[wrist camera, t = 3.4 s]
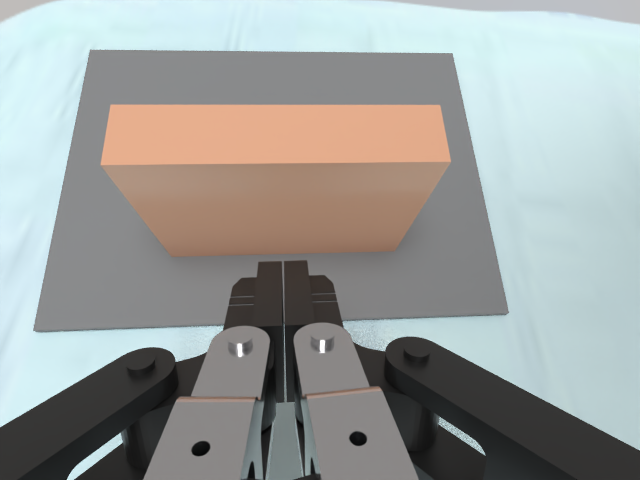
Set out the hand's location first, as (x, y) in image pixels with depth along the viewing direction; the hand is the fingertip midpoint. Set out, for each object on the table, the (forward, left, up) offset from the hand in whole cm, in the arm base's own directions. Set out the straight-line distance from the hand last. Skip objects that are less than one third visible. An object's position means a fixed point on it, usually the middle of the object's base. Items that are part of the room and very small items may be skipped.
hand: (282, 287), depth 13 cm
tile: (-2, -5, -9) cm, 10 cm away
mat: (-3, -9, -9) cm, 13 cm away
